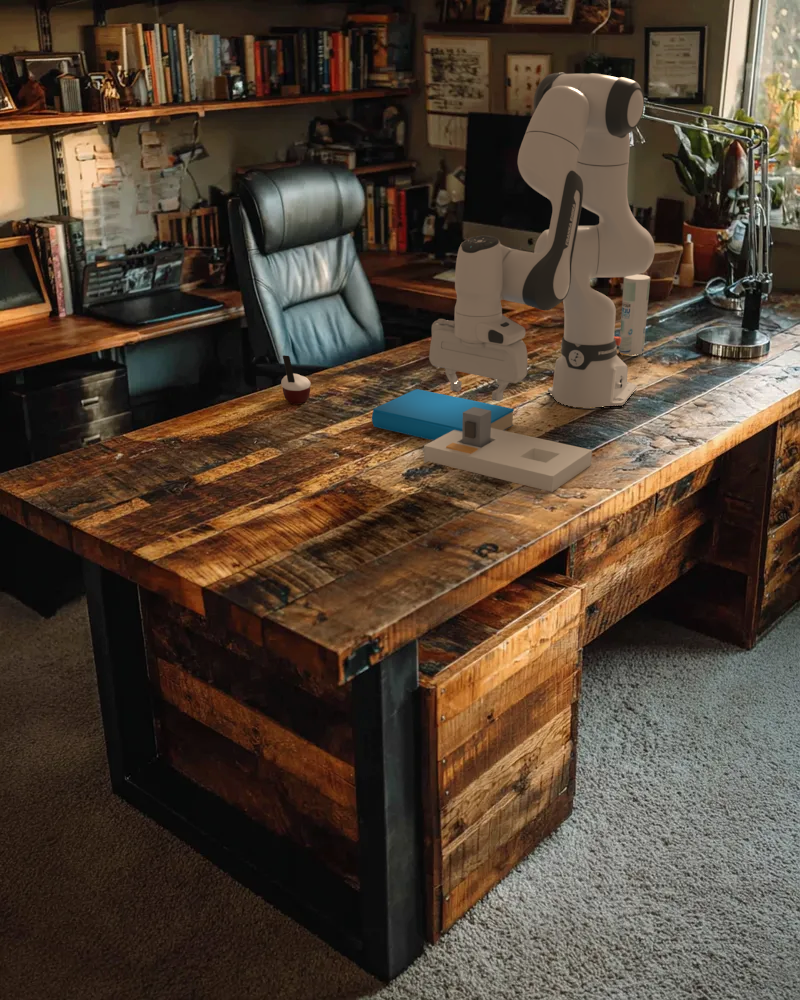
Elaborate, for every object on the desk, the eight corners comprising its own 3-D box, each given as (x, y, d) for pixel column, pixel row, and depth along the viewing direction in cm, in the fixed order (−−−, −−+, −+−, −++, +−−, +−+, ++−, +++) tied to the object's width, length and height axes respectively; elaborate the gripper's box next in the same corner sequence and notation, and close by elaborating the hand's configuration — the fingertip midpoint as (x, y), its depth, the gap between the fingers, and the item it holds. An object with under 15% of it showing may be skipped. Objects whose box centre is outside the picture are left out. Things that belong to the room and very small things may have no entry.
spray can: (648, 355, 281) (654, 278, 273) (625, 357, 279) (631, 280, 271) (636, 349, 287) (642, 273, 279) (614, 351, 285) (619, 275, 277)
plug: (472, 449, 217) (473, 407, 213) (490, 454, 215) (491, 410, 211) (459, 457, 213) (460, 413, 210) (477, 461, 211) (478, 417, 208)
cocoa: (300, 396, 254) (298, 345, 250) (320, 400, 250) (318, 349, 246) (271, 404, 247) (268, 352, 243) (290, 409, 243) (288, 356, 239)
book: (415, 388, 242) (514, 406, 229) (416, 407, 244) (514, 426, 231) (370, 409, 229) (472, 430, 216) (371, 429, 231) (472, 450, 218)
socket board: (467, 441, 224) (467, 421, 223) (590, 469, 210) (592, 448, 208) (424, 464, 212) (423, 444, 211) (551, 496, 198) (552, 474, 196)
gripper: (422, 320, 207) (422, 389, 213) (515, 338, 197) (513, 410, 202) (441, 313, 212) (440, 380, 218) (533, 330, 201) (530, 400, 207)
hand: (476, 395), depth 210 cm, fingers open, 8 cm apart
